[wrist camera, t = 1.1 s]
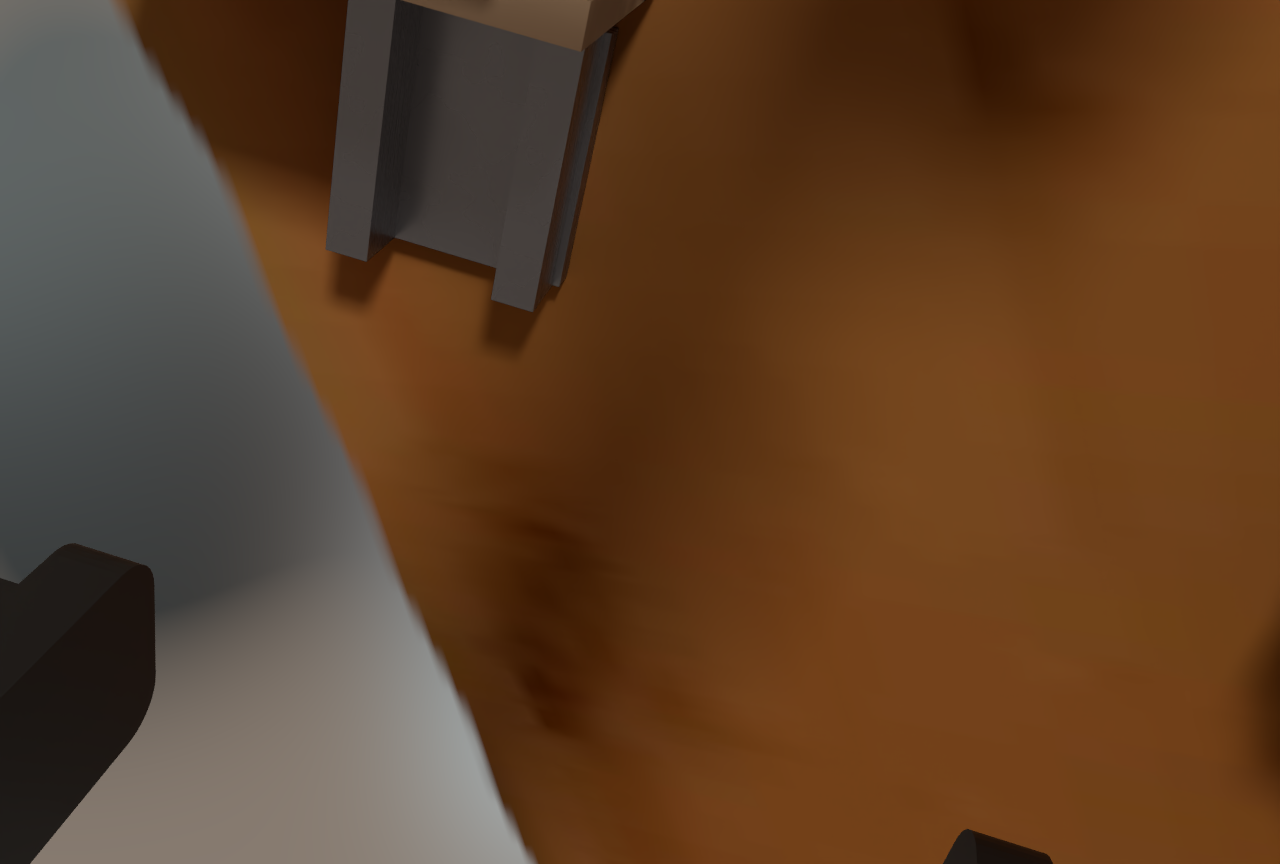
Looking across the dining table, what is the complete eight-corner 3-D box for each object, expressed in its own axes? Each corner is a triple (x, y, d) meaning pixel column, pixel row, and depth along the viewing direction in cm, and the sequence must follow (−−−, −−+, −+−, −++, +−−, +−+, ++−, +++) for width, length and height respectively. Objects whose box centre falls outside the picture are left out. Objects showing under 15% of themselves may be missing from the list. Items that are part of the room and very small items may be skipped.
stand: (387, -39, 38) (342, -23, 35) (618, 28, 38) (593, 49, 35) (360, 214, 43) (318, 247, 40) (566, 276, 43) (539, 314, 40)
